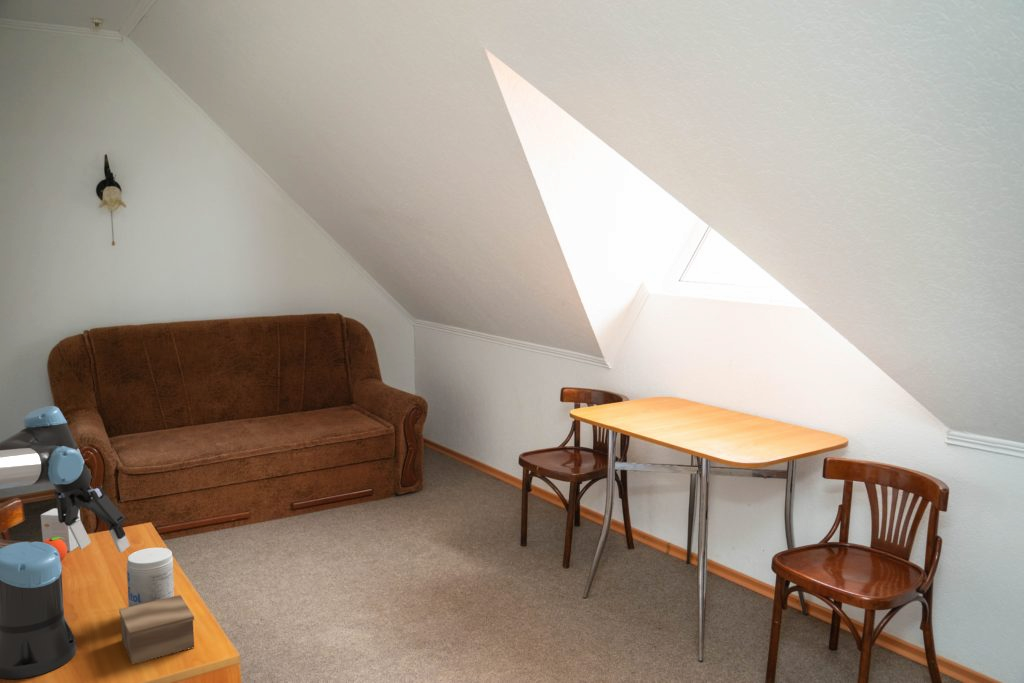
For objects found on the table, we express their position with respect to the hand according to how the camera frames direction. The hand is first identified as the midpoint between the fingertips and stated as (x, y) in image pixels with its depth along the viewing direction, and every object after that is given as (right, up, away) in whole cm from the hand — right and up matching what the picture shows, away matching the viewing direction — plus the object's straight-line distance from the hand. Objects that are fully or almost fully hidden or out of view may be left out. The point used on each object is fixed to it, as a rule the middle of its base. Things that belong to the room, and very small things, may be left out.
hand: (104, 547), depth 188 cm
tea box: (+21, -16, -19) cm, 33 cm away
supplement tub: (+14, -14, -7) cm, 21 cm away
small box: (-29, -9, +33) cm, 44 cm away
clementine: (-25, -10, +22) cm, 35 cm away
